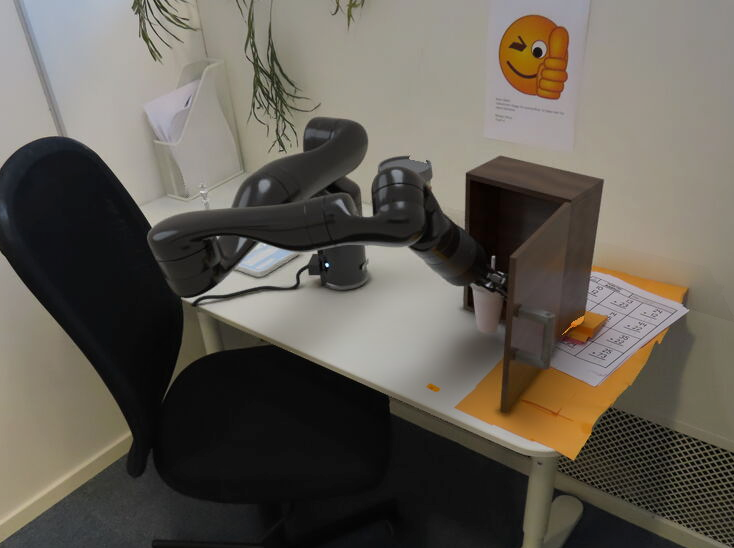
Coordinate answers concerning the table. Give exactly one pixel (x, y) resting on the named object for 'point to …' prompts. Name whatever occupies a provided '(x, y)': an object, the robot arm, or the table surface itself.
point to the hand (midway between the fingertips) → (494, 290)
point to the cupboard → (533, 222)
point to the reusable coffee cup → (410, 166)
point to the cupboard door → (533, 304)
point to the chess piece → (204, 197)
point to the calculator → (264, 260)
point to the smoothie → (487, 307)
